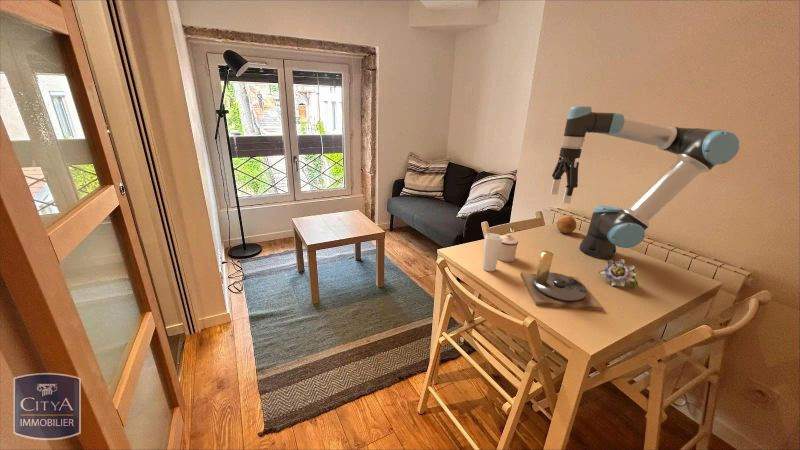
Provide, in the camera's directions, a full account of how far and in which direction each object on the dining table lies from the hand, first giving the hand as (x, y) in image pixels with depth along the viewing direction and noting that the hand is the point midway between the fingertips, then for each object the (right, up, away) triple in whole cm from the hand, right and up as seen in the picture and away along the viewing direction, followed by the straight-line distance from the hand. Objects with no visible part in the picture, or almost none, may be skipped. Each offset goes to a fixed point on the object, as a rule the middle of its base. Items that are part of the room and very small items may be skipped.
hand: (559, 198), depth 132 cm
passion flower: (+19, -35, -7) cm, 40 cm away
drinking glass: (-30, -30, 0) cm, 43 cm away
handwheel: (-9, -35, -16) cm, 39 cm away
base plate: (-9, -36, -15) cm, 40 cm away
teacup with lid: (-21, -26, +11) cm, 35 cm away
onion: (+24, -16, +42) cm, 51 cm away
